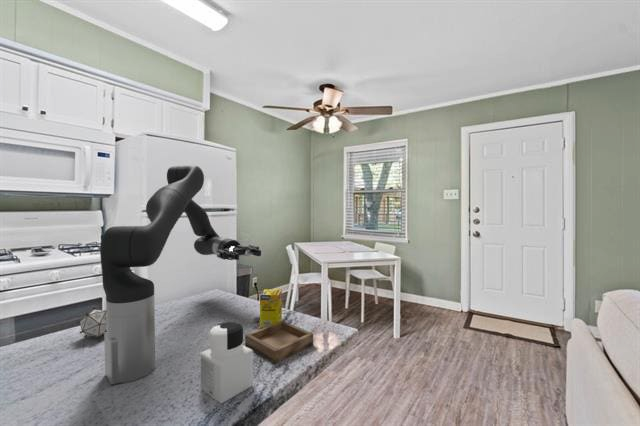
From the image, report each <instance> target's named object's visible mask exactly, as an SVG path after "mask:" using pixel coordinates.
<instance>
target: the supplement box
mask: <svg viewBox="0 0 640 426" xmlns="http://www.w3.org/2000/svg"><path fill="white" fill-rule="evenodd" d="M282 293H283V290H282V289H263V291H262V292H261V293H260V294H259V329H262V328H265V327H267V326H270V325H273V324H276V323H278V322H281V321H283V319H282V317H283V307H282V305H283V303H282V302H283V301H282V299H283V298H282V297H283V295H282Z"/></svg>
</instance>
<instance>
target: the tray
mask: <svg viewBox="0 0 640 426" xmlns="http://www.w3.org/2000/svg"><path fill="white" fill-rule="evenodd" d="M244 338H245V340H244V346H246V347H248V348H250V349H252V350H253V352H255V353H257V354H258V355H260V356H261V357H264V358H265V359H267V360H268V361H270V362H271V363H274V364H277V363H279V362H282V361H283V360H285V359H288V358H290V357H291V356H293V355H296V354H297V353H299V352H302V351H304V350H305V349H307V348H310V347H312V346H314V333H312V332H310V331H308V330H305V329H304V328H300V327H298V326H296V325H293V324H290V323H289V322H287V321H285V320H282V321H281V322H278V323H276V324H273V325H270V326H267V327H265V328H262V329H260V328H259V329H257V330H254V331H251V332H248V333H246V334H244Z"/></svg>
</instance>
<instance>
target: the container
mask: <svg viewBox="0 0 640 426" xmlns="http://www.w3.org/2000/svg"><path fill="white" fill-rule="evenodd" d="M209 345H210V346H209V349H206V350H204V351H201V353H200V389H201V390H202V391H204V392H205V393H207V394H208V395H209V396H211V397H212V398H213V399H214V400H215V401H217V402H218V403H220V404H223V403H225V402H227V401H229V400H231V399H233V398H234V397H236V396H237V395H239V394H241V393H242V392H244V391H246V390H247V389H249V388H251V387H252V386H253V385H254V351H253V350H252V349H250V348H248V347H247V346H245V344H244V326H243V325H241V324H240V323H239V322H234V321H226V322H225V321H224V322H221V323H219V324H216V325H214V326H213V327H212V328H211V330H210V331H209Z"/></svg>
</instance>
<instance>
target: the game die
mask: <svg viewBox="0 0 640 426" xmlns="http://www.w3.org/2000/svg"><path fill="white" fill-rule="evenodd" d="M96 308H97V307H93V309H92V310H91V311H90V312H89V313H88V312H85V317H83V318H82V319H80V321H79V320H77V321H76V323H77V324H79V325H80V330H81V331H79V334H84V335H85V336H84V337H86V338H87V337H94V338H95V337H96V338H97V339H98V340H100V339H101V336H102V335H104V334H105V332H107V320H106V309H105V310H104V309H103V310H102V309H96Z"/></svg>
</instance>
